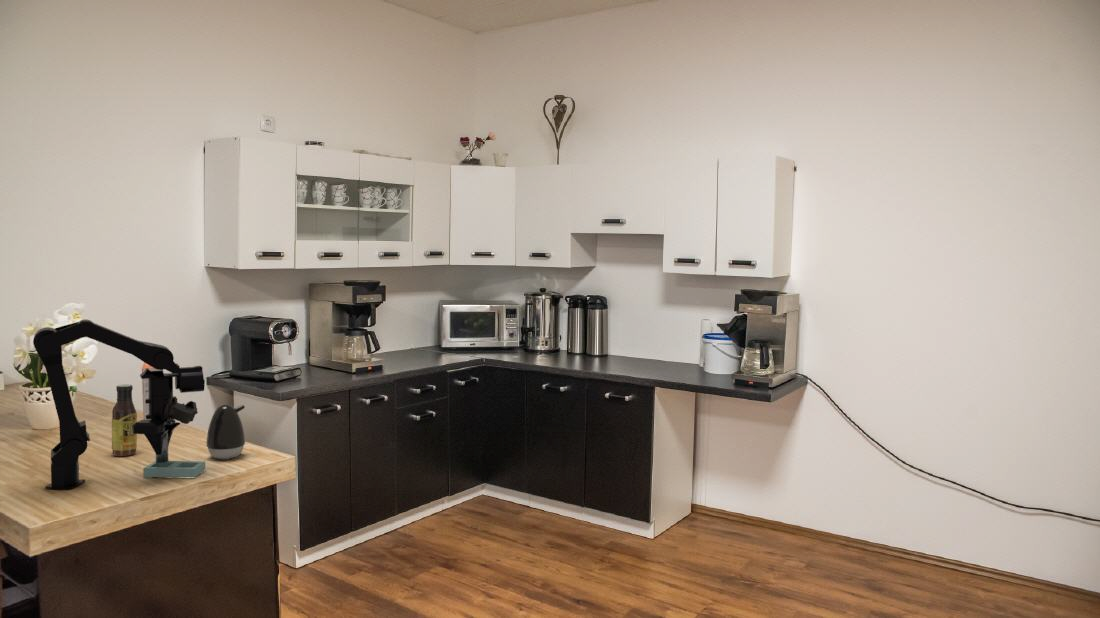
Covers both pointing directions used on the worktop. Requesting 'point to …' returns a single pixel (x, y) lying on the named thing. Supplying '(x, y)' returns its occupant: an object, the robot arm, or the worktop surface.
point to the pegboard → (174, 469)
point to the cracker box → (146, 390)
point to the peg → (163, 450)
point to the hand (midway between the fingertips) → (161, 452)
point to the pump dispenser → (226, 432)
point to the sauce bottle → (124, 423)
